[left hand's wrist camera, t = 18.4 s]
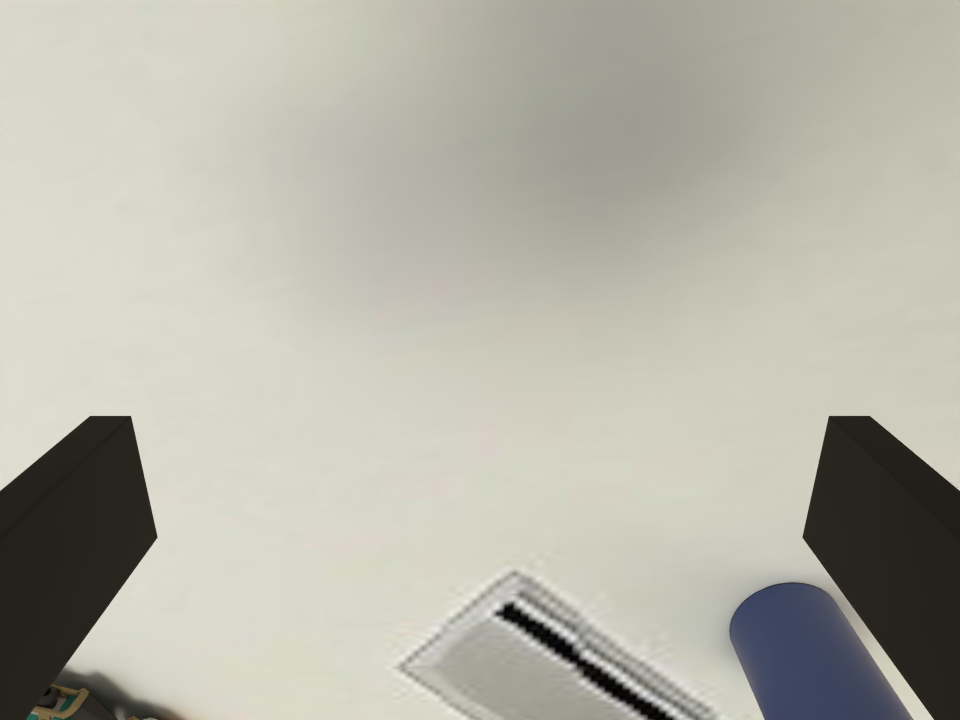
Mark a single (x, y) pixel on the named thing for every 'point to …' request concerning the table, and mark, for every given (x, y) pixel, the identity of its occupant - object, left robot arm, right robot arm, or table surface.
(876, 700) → the can
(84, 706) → the spray gun
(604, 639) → the table surface
